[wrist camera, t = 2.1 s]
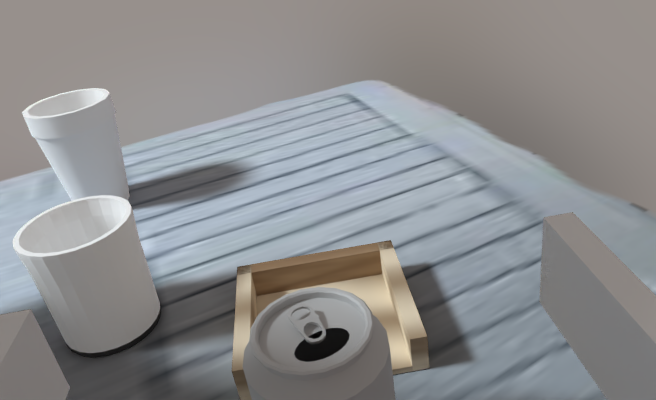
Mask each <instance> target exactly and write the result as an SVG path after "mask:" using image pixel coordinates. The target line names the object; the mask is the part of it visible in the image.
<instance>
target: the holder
mask: <svg viewBox="0 0 656 400" xmlns="http://www.w3.org/2000/svg"><path fill="white" fill-rule="evenodd" d="M315 287H325V288H337V289H340V290H343V291H347V292H350V293H353V294H354V295H356V296H357V297H359V298H360V299H362V300H363V301H365V303H366V304H367V306H368V307H369V308H370V310H371V311H372V314H373V315H374V316H376V317H377V318H378V320H379V321H380V322H381V324H382V325H383V327H384V328H385V329H386V331H387V336H388V341H389V346H390V354H391V363H392V372H393V375H395V374H400V373H406V372H411V371H417V370H422V369H428V368H429V355H428V340H427V334H426V332H425V329H424V326H423V324H422V321H421V318H420V316H419V313H418V311H417V308H416V305H415V303H414V300H413V297H412V295H411V292H410V290H409V287H408V284H407V282H406V279H405V276H404V274H403V271H402V269H401V266H400V263H399V261H398V258H397V255H396V253H395V250H394V248H393V245H392V242H391V240H390V241H384V242H378V243H373V244H367V245H361V246H355V247H349V248H344V249H338V250H332V251H326V252H321V253H315V254H309V255H303V256H298V257H292V258H286V259H280V260H274V261H269V262H263V263H257V264H251V265H246V266H240V267H237V286H236V304H235V323H234V341H233V360H232V373H233V377H234V380H235V383H236V387H237V390H238V394H239V397H240V400H252V398H251V395H250V391H249V388H248V384H247V381H246V377H245V374H244V370H243V358H244V350H245V348H246V346H247V344H248V342H249V339H250V329H251V327H252V325H253V323H254V321H255V320H256V318H257V316H258V315H259V314H260V313H261V312H262V311H263V310H264V309H265V308H266V307H267V306H268V305H269V304H270V303H272V302H274V301H276V300H277V299H279V298H281V297H282V296H284V295H286V294H289V293H292V292H295V291H298V290H301V289H308V288H315Z"/></svg>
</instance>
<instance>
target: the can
mask: <svg viewBox="0 0 656 400" xmlns="http://www.w3.org/2000/svg"><path fill="white" fill-rule="evenodd" d="M243 370H244V374H245V377H246V381H247V384H248V388H249V391H250V395H251V398H252V400H395V391H394V382H393V372H392V363H391V354H390V346H389V341H388V336H387V331H386V329H385V328H384V327H383V325H382V324H381V322H380V321H379V320H378V318H377V317H376V316H374V315H373V314H372V311H371V310H370V308H369V307H368V306H367V304H366V303H365V301H363V300H362V299H360V298H359V297H357V296H356V295H354V294H353V293H350V292H347V291H343V290H340V289H337V288H325V287H315V288H308V289H301V290H298V291H295V292H292V293H289V294H286V295H284V296H282V297H281V298H279V299H277V300H276V301H274V302H272V303H270V304H269V305H268V306H267V307H266V308H265V309H264V310H263V311H262V312H261V313H260V314H259V315H258V316H257V318H256V320H255V321H254V323H253V325H252V327H251V329H250V339H249V342H248V344H247V346H246V348H245V350H244V358H243Z"/></svg>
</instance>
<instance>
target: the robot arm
mask: <svg viewBox="0 0 656 400" xmlns="http://www.w3.org/2000/svg"><path fill="white" fill-rule="evenodd" d="M540 303H541V305H542V306H543V308H544V309H545V310H546V312H547V313H548V315H549V316H550V318H551V319H552V321H553V322H554V323H555V325H556V326H557V328H558V329H559V331H560V332H561V334H562V335H563V336H564V338H565V339H566V341H567V342H568V344H569V345H570V347H571V348H572V349H573V351H574V352H575V354H576V355H577V357H578V358H579V359H580V361H581V362H582V364H583V365H584V367H585V368H586V370H587V371H588V372H589V374H590V375H591V377H592V378H593V380H594V381H595V383H596V384H597V385H598V387H599V388H600V390H601V391H602V393H603V394H604V396H605V397H606V398H607V400H656V295H655V294H654V293H653V292H652V291H651V290H650V289H649V288H648V287H647V286H646V285H645V284H644V283H643V282H642V281H641V280H640V279H639V278H638V277H637V276H636V275H635V274H634V273H633V272H632V271H631V270H630V269H629V268H628V267H627V266H626V265H625V264H624V263H623V262H622V261H621V260H620V259H619V258H618V257H617V256H616V255H615V254H614V253H613V252H612V251H611V250H610V249H609V248H608V247H607V246H606V245H605V244H604V243H603V242H602V241H601V240H600V239H599V238H598V237H597V236H596V235H595V234H594V233H593V232H592V231H591V230H590V229H589V228H588V227H587V226H586V225H585V224H584V223H583V222H582V221H581V220H580V219H579V218H578V217H577V216H576V215H575V214H574V213H573V212H572V213H566V214H560V215H555V216H549V217H544V219H543V240H542V261H541V282H540ZM69 390H70V386H69V384H68V382H67V380H66V378H65V376H64V374H63V372H62V370H61V368H60V366H59V364H58V362H57V360H56V358H55V356H54V354H53V352H52V350H51V348H50V346H49V344H48V342H47V340H46V338H45V336H44V334H43V332H42V330H41V328H40V326H39V324H38V322H37V320H36V318H35V316H34V314H33V312H32V310H31V309H29V310H23V311H18V312H12V313H7V314H1V315H0V400H66V397H67V395H68V392H69Z"/></svg>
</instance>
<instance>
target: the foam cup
mask: <svg viewBox="0 0 656 400" xmlns="http://www.w3.org/2000/svg"><path fill="white" fill-rule="evenodd" d="M115 113H116V111H115V108H114V105H113V102H112V99H111V96H110V93H109V92H108V91H107V90H106V89H98V88H91V89H81V90H75V91H70V92H66V93H61V94H58V95H55V96H52V97H49V98H46V99H42V100H40V101H38V102H36V103H34V104H32V105H30V106H28V107H27V109H25V110H24V111H23V112H22V114H23V116H24V118H25V121H26V123H27V126H28V128H29V130H30V133H31V135H32V137H35V139H36V140H37V142H38V144H39V146H40V147H41V149H42V151H43V152H44V154H45V156H46V158H47V159H48V161H49V163H50V164H51V166H52V168H53V170H54V171H55V173H56V175H57V176H58V178H59V180H60V182H61V183H62V185H63V187H64V188H65V190H66V192H67V194H68V195H69V197H70V199H71V200H76V199H80V198H85V197H91V196H99V195H112V196H117V197H122V198H124V199H125V200H127V201H128V199H129V197H130V194H129V187H128V182H127V177H126V171H125V166H124V161H123V156H122V150H121V145H120V140H119V135H118V130H117V124H116V119H115Z"/></svg>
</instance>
